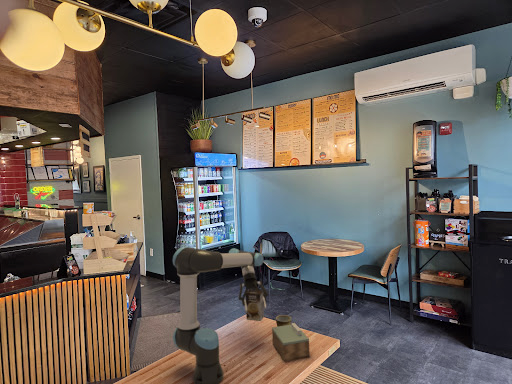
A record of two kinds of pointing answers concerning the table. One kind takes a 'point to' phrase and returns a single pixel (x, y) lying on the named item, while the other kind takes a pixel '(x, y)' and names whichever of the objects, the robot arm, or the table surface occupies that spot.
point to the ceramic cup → (283, 320)
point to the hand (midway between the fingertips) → (256, 309)
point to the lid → (290, 334)
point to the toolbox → (291, 349)
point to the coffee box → (254, 305)
